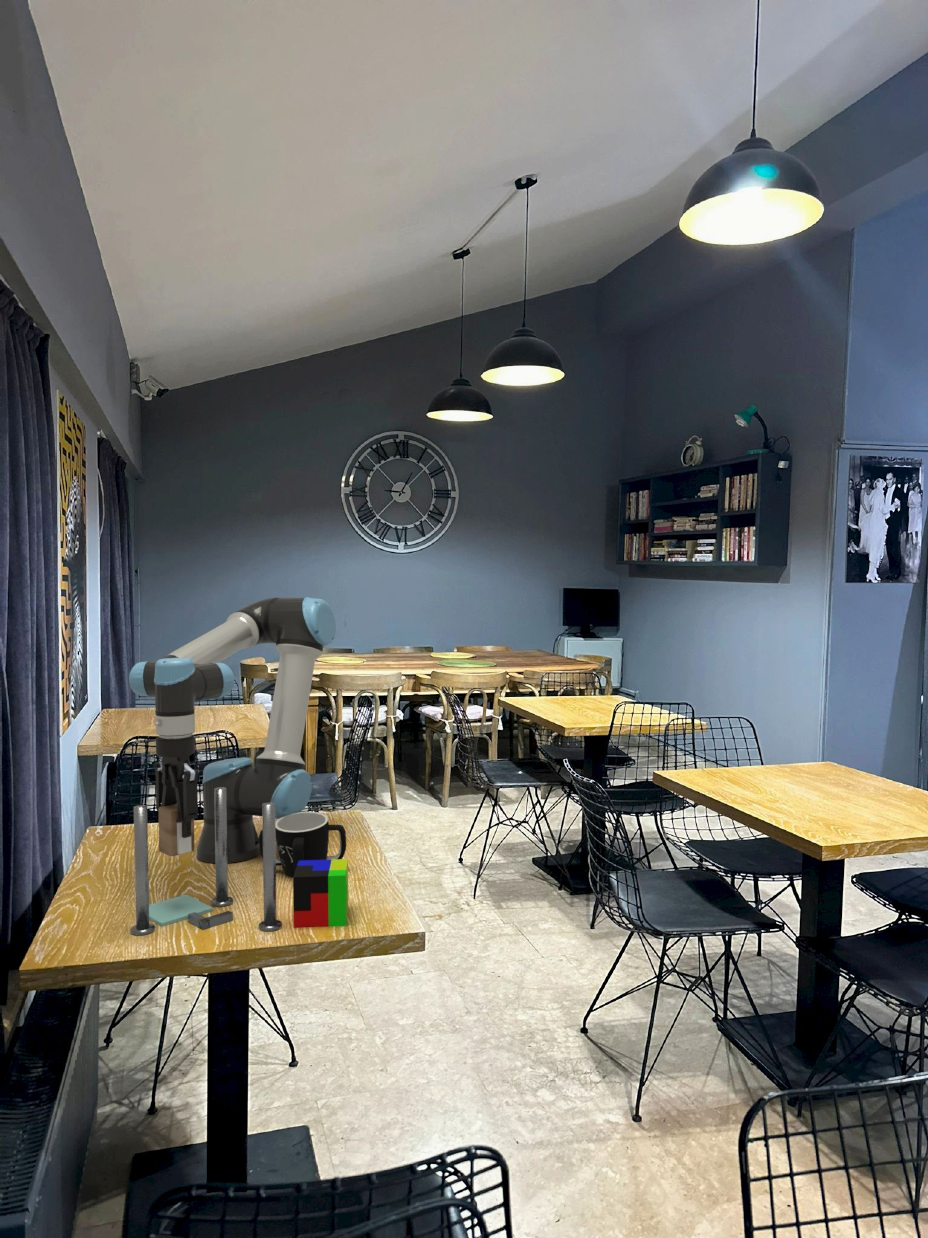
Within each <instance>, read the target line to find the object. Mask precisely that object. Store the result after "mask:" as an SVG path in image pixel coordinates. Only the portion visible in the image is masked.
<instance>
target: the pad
mask: <svg viewBox="0 0 928 1238" xmlns="http://www.w3.org/2000/svg"><path fill="white" fill-rule="evenodd" d="M193 912H196V913H198V914H200V915H204V914H207V913H211V912H214V907H213V906H210V905H208V904H206V903H204V902H202V901H200V900H198V899H196V898H195V897H192V896H191V895H188V894H183V895H180V896H179V895H178V896H176V897H172V898H169V899H164V900H161V901H158V902H154V903H151V904H150V903H149V921H152V922H153V923H155V924H157V925H158V926H160V927H164V926H168V925H171V924H174V923H178V922H181V921H184V920H188V914H190V913H193Z"/></svg>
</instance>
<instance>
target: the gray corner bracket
mask: <svg viewBox="0 0 928 1238" xmlns="http://www.w3.org/2000/svg"><path fill="white" fill-rule="evenodd" d="M233 920H234V912H232V911H230V910H227V911H224V912H220V913H217V914H212V915H210V916H208V917H205V916H203V914H201V915H200V914H198V913H196V912H193V913H190V914H188V919H187V922H188V923H190V924H192V925H193V926H195V927H197V928H199V929H201V930H205V929H207V930H208V929H209V928H213V927H215V926H219V925H222V924H225V923H229V922H232V921H233Z"/></svg>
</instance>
